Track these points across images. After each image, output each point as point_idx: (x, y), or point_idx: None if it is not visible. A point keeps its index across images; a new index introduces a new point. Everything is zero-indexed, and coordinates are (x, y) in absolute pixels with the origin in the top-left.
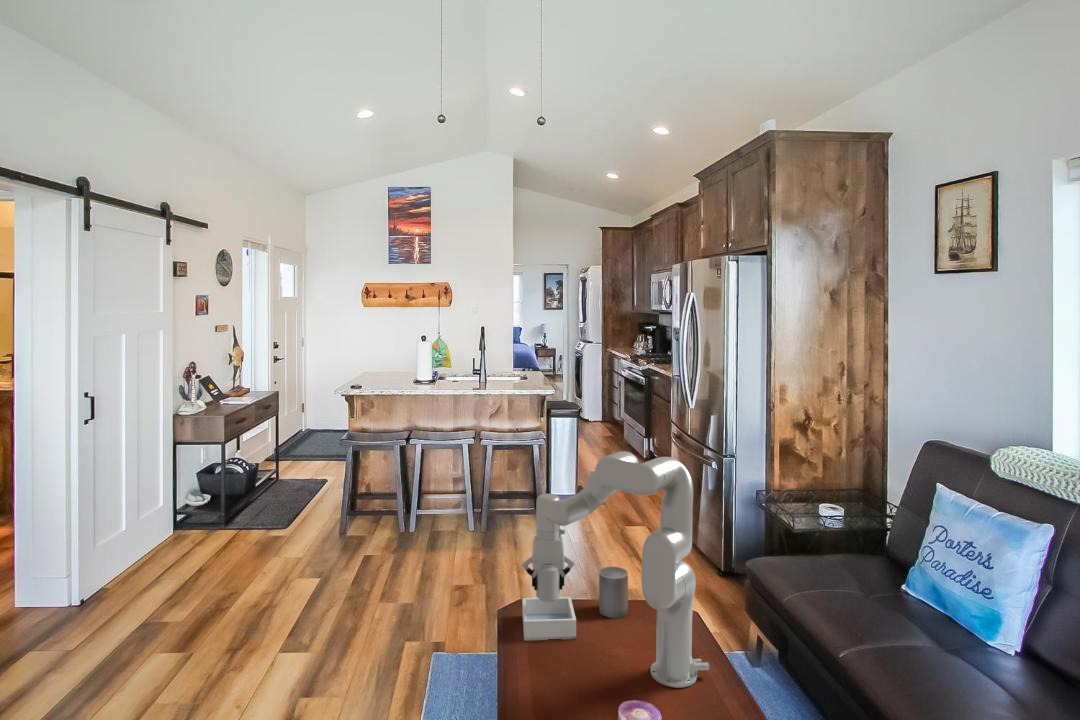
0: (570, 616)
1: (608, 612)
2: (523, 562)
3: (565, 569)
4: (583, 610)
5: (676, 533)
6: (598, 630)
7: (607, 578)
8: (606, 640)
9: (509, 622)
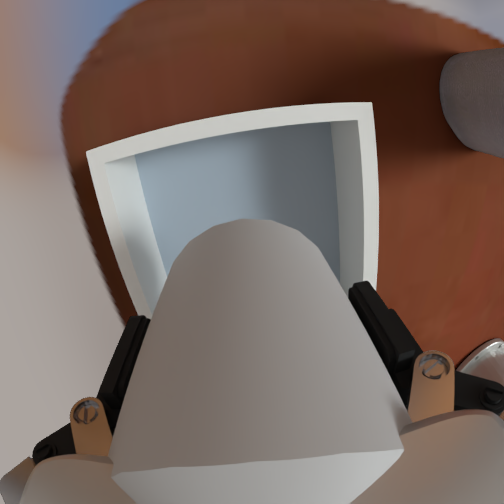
0: (351, 238)
1: (473, 145)
2: (3, 498)
3: (465, 408)
4: (387, 73)
5: None
6: (422, 231)
7: None
8: (427, 285)
9: (89, 205)
